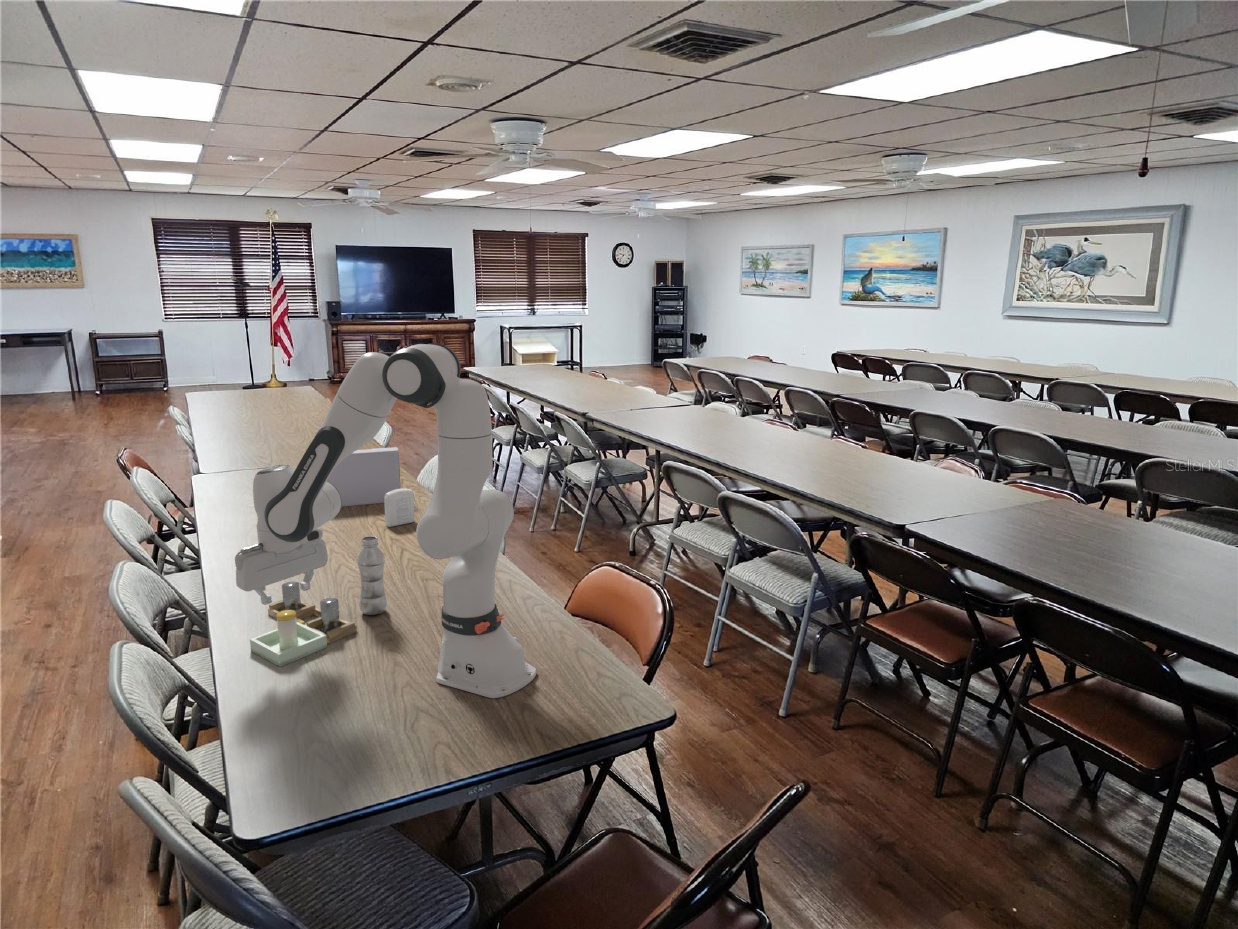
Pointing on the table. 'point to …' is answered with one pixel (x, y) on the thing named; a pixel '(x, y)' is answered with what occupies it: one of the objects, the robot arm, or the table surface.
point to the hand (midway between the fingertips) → (286, 596)
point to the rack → (315, 620)
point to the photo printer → (399, 507)
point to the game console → (367, 476)
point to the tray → (271, 651)
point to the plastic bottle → (371, 577)
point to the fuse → (287, 629)
